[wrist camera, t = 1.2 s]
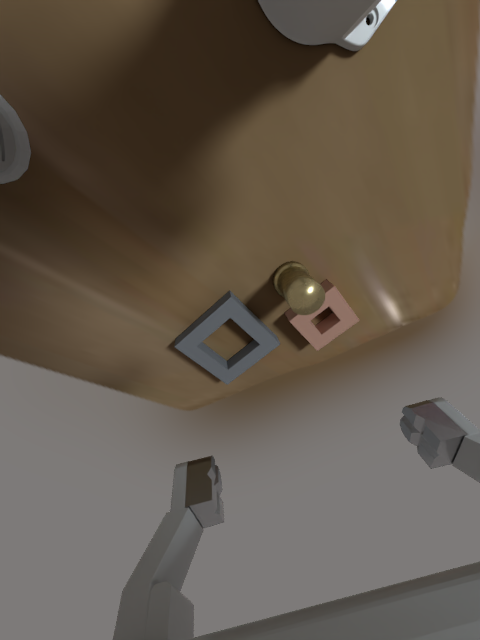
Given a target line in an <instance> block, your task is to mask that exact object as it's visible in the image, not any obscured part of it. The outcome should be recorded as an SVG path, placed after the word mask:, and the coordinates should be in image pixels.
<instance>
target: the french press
mask: <svg viewBox="0 0 480 640" xmlns="http://www.w3.org/2000/svg"><path fill="white" fill-rule="evenodd" d="M30 156H31V149H30V144H29V139H28V135H27V131H26V129H25V128H24V126H23V124H22V122H21V120H20V118H19V117H18V115H17V113H16V111H15V110H14V109H13V108H12V107H11V106H10V104H9V103H8V102H7V101H6V100H5V99H4V98H3V97H2V96H1V95H0V184H4V183H8V182H11V181H15V180H18V179H19V178H20V177H21V176H22V175H23V174H24V172H25V171H26V170H27V169H28V165H29V160H30Z"/></svg>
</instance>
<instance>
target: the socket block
mask: <svg viewBox="0 0 480 640" xmlns="http://www.w3.org/2000/svg"><path fill="white" fill-rule="evenodd" d="M229 318H231V319H232V320H233V321H235V322H236V323H237V324H238V325H239V326H240V327H241V328H242V329H243V330H245V331H246V332H247V333H248V334H249V335H250V336H251V337H252V338H253V339H254V340H253V341H251V342H250V343H249V344H248V345H246V346H245V347H244V348H243V349H241V350H240V351H239V352H238V353H236V354H235V355H234V356H233V357H231V358H230V359H229V360H228V361H226V360H225V359H223V358H222V357H221V356H219V355H218V354H217V353H216V352H214V351H213V350H212V349H210V348H209V347H208V346H207V345H205V344H204V343H203V342H202V341H203V340H205V339H206V338H207V337H208V336H209V335H210V334H212V333H213V332H214V331H215V330H216V329H218V328H219V327H220V326H221V325H222V324H223V323H225V322H226V321H227V320H228V319H229ZM278 345H280V342H279V340H278V338H277V336H276V335H275V334H274V333H273V332H272V331H271V330H270V329H269V328H268V327H267V326H266V325H265V324H264V323H263V322H262V321H261V320H260V319H259V318H257V317H256V316H255V315H254V314H253V313H252V312H251V311H250V310H249V309H248V308H247V307H246V306H245V305H244V304H243V303H242V302H241V301H240V300H239V299H238V298H237V297H236V296H235V295H234V294H233V293H232V292H231V291H229V292H227V293H226V294H225V295H224V296H223V297H222V298H221V299H220V300H218V301H217V302H216V303H215V304H214V305H213V306H212V307H211V308H209V309H208V310H207V311H206V312H205V313H204V314H203V315H202V316H201V317H199V318H198V319H197V320H196V321H195V322H194V323H193V324H192V325H190V326H189V327H188V328H187V329H186V330H185V331H184V332H183V333H181V334H180V335H179V336H178V337H177V338H176V340H175V346H174V347H175V348H177V349H178V350H179V351H181V352H182V353H184V354H185V355H186V356H188V357H189V358H191V359H192V360H193V361H195V362H196V363H198V364H199V365H200V366H202V367H203V368H205V369H206V370H207V371H209V372H210V373H212V374H213V375H214V376H216V377H217V378H219V379H220V380H221V381H223V382H224V383H226V384H229V383H230V382H231V381H233V380H234V379H235V378H237V377H238V376H239V375H241V374H242V373H243V372H244V371H246V370H247V369H248V368H250V367H251V366H252V365H254V364H255V363H256V362H258V361H259V360H260V359H261V358H263V357H264V356H265V355H267V354H268V353H269V352H271V351H272V350H273V349H275V348H276V347H277V346H278Z"/></svg>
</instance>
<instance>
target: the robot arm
mask: <svg viewBox="0 0 480 640" xmlns="http://www.w3.org/2000/svg"><path fill="white" fill-rule="evenodd" d="M396 1H397V0H258V2H259V4H260V6H261V8H262V10H263V11H264V13H265V15H266V16H267V18H268V19H269V20H270V22H271V23H272V24H273V25H274V27H275V28H276V29H277V30H278V31H279V32H281V33H282V34H283V35H284V36H286V37H287V38H289V39H291V40H293V41H295V42H297V43H301V44H305V45H320V44H326V43H336V44H338V45H339V46H341V47H343V48H345V49H348V50H351V51H358V50H360V49H362V48H363V47H364V45H365V44H366V43H367V42H368V41H369V40H370V38H371V37H372V35H373V34H374V32H375V31H376V30H377V28H378V27H379V25H380V24H381V22H382V21H383V20H384V18H385V17H386V15H387V14H388V12H389V11H390V10H391V8H392V7H393V5H394V4H395V2H396ZM366 17H368V18H369V20H370V24H369V26H368V25H367V24H366ZM402 413H403V414H404V416H403V417H402V418H401V420H400V426H401V430H402V432H403V434H404V436H405V437H406V438H407V440H408V441H409V442H410V443H412V444H414V445H416V446H417V450H418V454H419V455H420V456H421V457H422V459H423V460H424V461H425V462H426V463H427V465H428V466H429V467H430V468H431V469H432V468H436V467H440V466H445V465H450V464H453V466H454V467H456V468H457V469H459V470H461V471H462V472H464V473H465V474H467V475H468V476H470V477H472V478H473V479H475V480H476V481H478V482H479V483H480V430H479V429H478V428H477V427H476V426H475V425H474V424H473V423H471V422H470V421H469V420H468V419H467V418H466V417H464V415H462V414H461V413H460V412H459V411H458V410H457V409H455V407H453V406H452V405H451V404H450V403H449V402H448V401H447V400H445V399H443V398H435V399H431V400H426V401H423V402H419V403H416V404H412V405H409V406H405V407H404V408H403V410H402ZM221 492H222V482H221V475H220V471H219V468H218V466H217V465H215V459H214V457H213V456H209V457H205V458H201V459H197V460H193V461H188V462H184V463H180V464H177V465H176V467H175V470H174V479H173V490H172V500H171V510H170V512H168V513H166V515H165V517H164V518H163V520H162V522H161V524H160V526H159V527H158V529H157V531H156V532H155V534H154V536H153V538H152V540H151V541H150V543H149V545H148V547H147V548H146V550H145V552H144V554H143V556H142V557H141V559H140V561H139V563H138V564H137V566H136V568H135V570H134V571H133V573H132V575H131V577H130V578H129V580H128V582H127V584H126V586H125V587H124V589H123V591H122V596H121V601H120V606H119V611H118V616H117V621H116V626H115V631H114V636H113V640H480V562H477V563H473V564H469V565H465V566H461V567H458V568H454V569H450V570H446V571H443V572H439V573H435V574H431V575H428V576H424V577H420V578H416V579H413V580H409V581H405V582H401V583H397V584H394V585H390V586H387V587H382V588H379V589H375V590H371V591H367V592H364V593H360V594H356V595H352V596H349V597H345V598H342V599H337V600H334V601H330V602H326V603H322V604H319V605H315V606H311V607H308V608H304V609H300V610H296V611H292V612H289V613H285V614H281V615H277V616H274V617H270V618H267V619H262V620H259V621H255V622H252V623H247V624H244V625H240V626H237V627H232V628H229V629H225V630H221V631H218V632H214V633H210V634H206V635H202V636H199V637H195V638H193V631H194V630H193V629H194V605H193V604H192V603H191V601H190V600H188V599H187V598H186V597H185V596H184V595H183V594H182V593H180V590H181V588H182V585H183V582H184V580H185V577H186V575H187V572H188V569H189V567H190V564H191V561H192V559H193V556H194V554H195V551H196V548H197V546H198V543H199V541H200V538H201V535H202V533H203V528H206V527H210V526H213V525H217V524H220V523H223V522H224V510H223V501H222V499H221V498H220V494H221Z"/></svg>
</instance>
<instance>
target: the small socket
mask: <svg viewBox="0 0 480 640" xmlns="http://www.w3.org/2000/svg"><path fill="white" fill-rule="evenodd" d="M320 285H321V286H322V287H323V289H324V291H325V300H324V303H323V305H322V306H321V307H320V309H319V310H317V311H316V312H314V313H312V314H310V315H299V314H296V313H295V312H294V311H293V310H292V309H291V308H290V309H289V310H287V311H286V312H285V315H286V316H287V318H288V320H289V321H290V323H291V324H292V325H293V326H294V327H295V328H296V329H297V330H298V331H299V332H300V333H301V334H302V335H303V336H304V337H305V338H306V339H307V340H308V342H309V343H310V344H311V345H312V346H313V347H314V348H315V349H316V350H317V351H318V350H319V349H321V348H322V347H323V346H325V345H326V344H328V343H329V342H330V341H332V340H333V339H335V338H336V337H337V336H339V335H340V334H342V333H343V332H344V331H346V330H347V329H348V328H350V327H351V326H353V325H354V324H355V323H357V322H358V321H360V320H359V319H358V317H357V316H356V315H355V313H354V312H353V310H352V309H351V308H350V306H349V305H348V304H347V302H346V301H345V299H344V298H343V297H342V295H341V294H340V293H339V291H338V290H337V289H336V287H335V286H334V285H333V284H332V283H330V282H329V281H328V280H327V279H326V280H325V281H324V282H322V283H321V284H320ZM327 307H329V308H330V309H331V311H332V312H333V313H331V314H330V315H329V316H328V317H326V318H325V319H324V320H322V321H321V322H320V323H318V324H317V325H316V326H315V325H314V324H313V323H312V322H311V321H310V320H312V319H313V318H314V317H316V316H317V315H318V314H319V313H321V312H322V311H323V310H325V309H326V308H327Z"/></svg>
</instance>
